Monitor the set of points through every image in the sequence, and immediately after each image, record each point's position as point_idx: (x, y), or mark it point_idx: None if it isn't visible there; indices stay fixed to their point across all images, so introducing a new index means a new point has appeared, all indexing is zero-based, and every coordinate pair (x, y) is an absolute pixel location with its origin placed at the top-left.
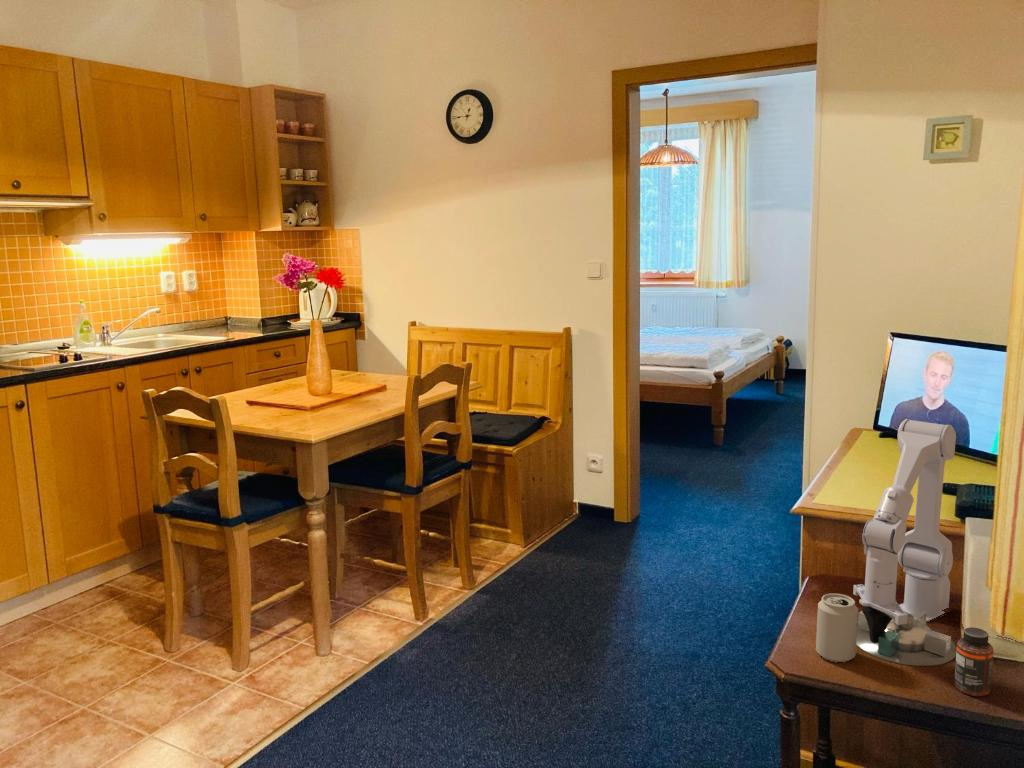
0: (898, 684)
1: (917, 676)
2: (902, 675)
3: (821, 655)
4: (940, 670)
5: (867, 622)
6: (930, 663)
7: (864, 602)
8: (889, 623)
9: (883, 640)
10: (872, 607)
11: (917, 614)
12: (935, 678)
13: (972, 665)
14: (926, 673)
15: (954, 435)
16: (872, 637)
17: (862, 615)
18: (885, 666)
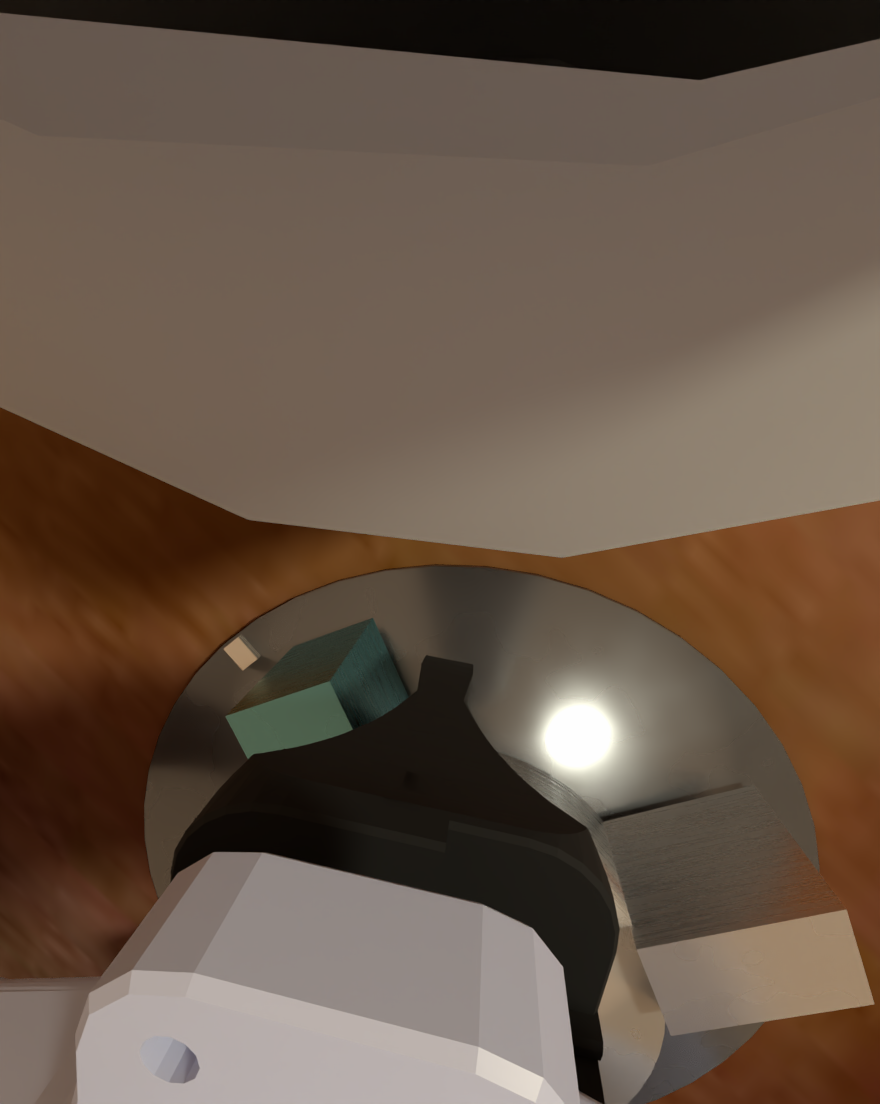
0: (4, 428)
1: (66, 620)
2: (97, 545)
3: (491, 58)
4: (97, 788)
5: (486, 740)
6: (163, 801)
7: (186, 1039)
8: None
9: (297, 685)
10: (81, 981)
11: None
12: (26, 694)
13: None
14: (86, 695)
15: None
16: (426, 669)
17: (789, 902)
18: (225, 534)
